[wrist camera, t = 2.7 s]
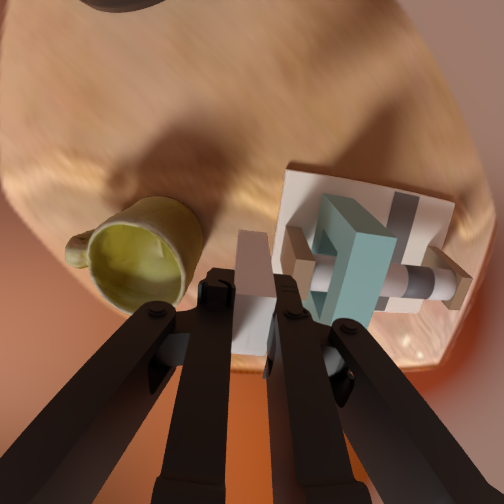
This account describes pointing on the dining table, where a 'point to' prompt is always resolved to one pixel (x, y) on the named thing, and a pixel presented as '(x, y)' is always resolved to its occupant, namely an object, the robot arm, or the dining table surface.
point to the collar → (350, 260)
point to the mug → (141, 253)
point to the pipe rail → (393, 218)
